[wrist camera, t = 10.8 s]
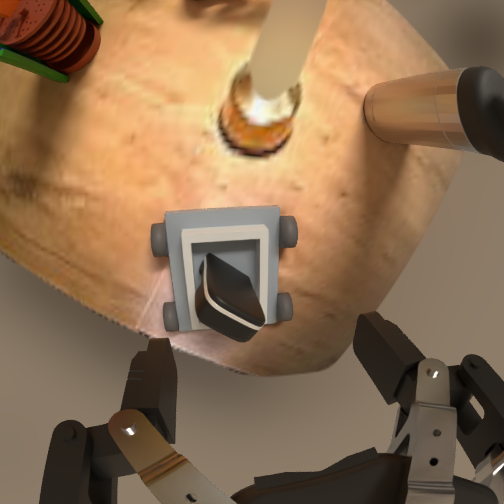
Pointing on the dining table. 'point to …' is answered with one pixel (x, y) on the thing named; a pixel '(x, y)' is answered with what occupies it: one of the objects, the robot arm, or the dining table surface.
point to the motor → (48, 36)
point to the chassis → (224, 256)
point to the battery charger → (227, 300)
